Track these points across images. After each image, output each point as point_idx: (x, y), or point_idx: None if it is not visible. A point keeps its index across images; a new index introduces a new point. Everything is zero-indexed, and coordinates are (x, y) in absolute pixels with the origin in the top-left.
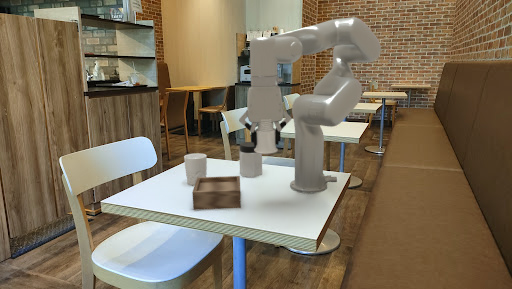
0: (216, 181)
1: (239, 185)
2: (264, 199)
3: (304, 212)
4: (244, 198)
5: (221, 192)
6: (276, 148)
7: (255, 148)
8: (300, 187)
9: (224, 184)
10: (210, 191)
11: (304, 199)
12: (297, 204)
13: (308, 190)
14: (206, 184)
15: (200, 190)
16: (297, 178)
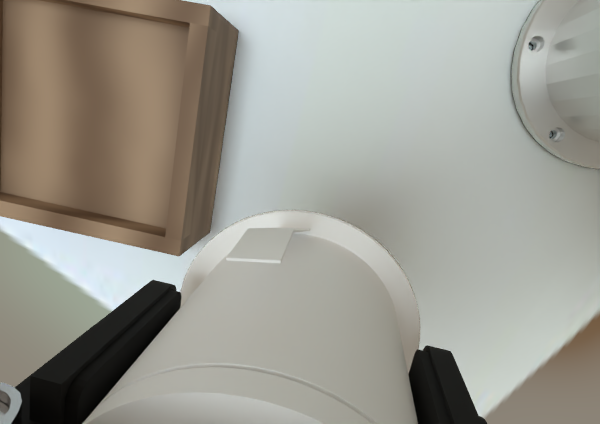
0: (86, 7)
1: (184, 182)
2: (327, 169)
3: (437, 346)
4: (242, 129)
5: (96, 235)
6: (412, 333)
7: (200, 259)
8: (554, 108)
9: (128, 66)
10: (43, 225)
11: (505, 224)
12: (447, 267)
13: (573, 162)
14: (37, 38)
15: (13, 126)
16: (573, 80)
